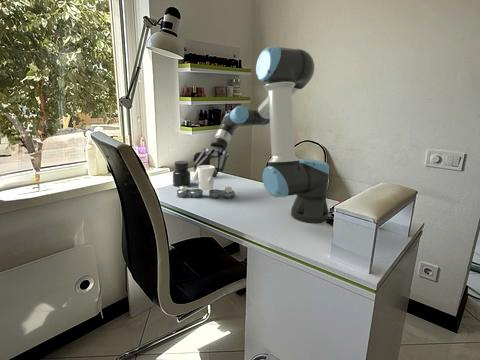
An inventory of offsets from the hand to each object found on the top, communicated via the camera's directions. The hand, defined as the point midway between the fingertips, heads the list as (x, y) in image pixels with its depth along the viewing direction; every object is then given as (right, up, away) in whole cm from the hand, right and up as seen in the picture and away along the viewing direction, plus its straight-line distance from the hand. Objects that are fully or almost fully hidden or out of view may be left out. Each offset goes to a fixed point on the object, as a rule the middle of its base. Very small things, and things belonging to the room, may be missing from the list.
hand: (201, 180), depth 146 cm
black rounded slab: (-4, +2, +36) cm, 36 cm away
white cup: (+2, -3, +4) cm, 6 cm away
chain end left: (-6, -7, +5) cm, 11 cm away
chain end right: (+9, -7, +5) cm, 13 cm away
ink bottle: (-13, -2, +22) cm, 26 cm away
